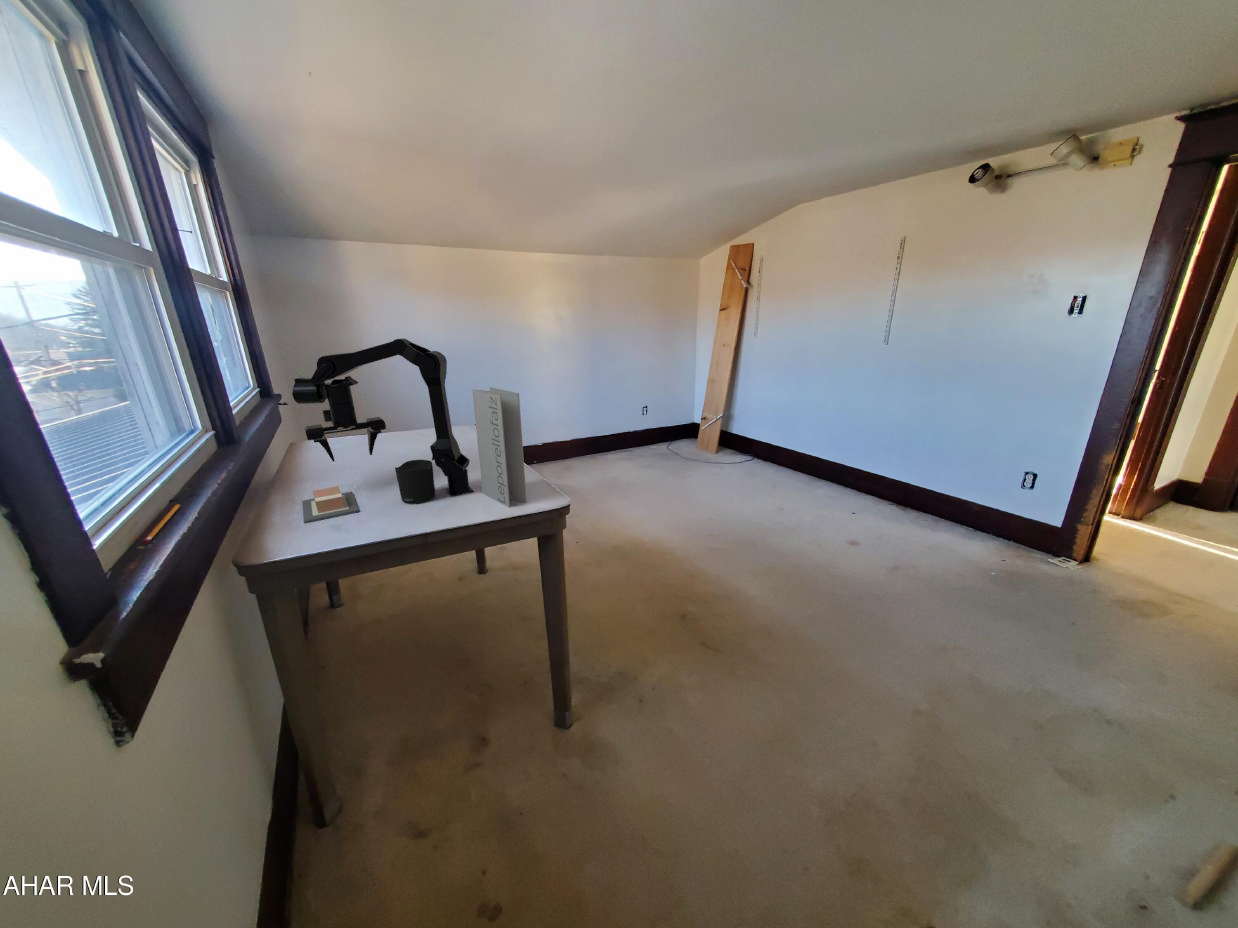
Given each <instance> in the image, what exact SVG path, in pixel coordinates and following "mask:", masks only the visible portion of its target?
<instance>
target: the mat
mask: <svg viewBox="0 0 1238 928" xmlns="http://www.w3.org/2000/svg"><path fill="white" fill-rule="evenodd" d="M341 494H342V497H343V501H344V506H345V508H342V509H337V510H332V511H328V512H323V513H318V511H317V507H316V503H315V499H314V498H309V499H303V500H301V501H302V516H303V517H302V518H303V523H304V524H308V523H314V522H317V521H322V520H323V521H324V520H329V519H333V518H337V517H342V516H347V515H351V514H356V513H360V511H359V507H358V505H357V502H356V499H355V497H354V496H355V495H354V493H353V492H352V491H347V492H341Z"/></svg>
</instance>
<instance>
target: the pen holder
mask: <svg viewBox="0 0 1238 928" xmlns="http://www.w3.org/2000/svg"><path fill="white" fill-rule="evenodd" d="M394 469H395V475H396V479H397V485H398V488H399V493H400V499H401V502H403V503H405V504H407V505H408V504H409V505H419V504H424V503H427V502H430V501H432V500H433V499H434V498H435V496H436V494H435V493H436V492H435V491H436V489H435V476H434V467H433V462H432V460H429V459H411V460H408V461H406V462H404V463H402V464H401V465H400V466H398V467H394Z"/></svg>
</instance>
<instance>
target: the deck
mask: <svg viewBox="0 0 1238 928" xmlns="http://www.w3.org/2000/svg"><path fill="white" fill-rule="evenodd" d="M341 493H342V492H341V489H340V487H339V485H338V486H337V485H336V486H331V487H326V488H321V489H316V490H312V494H313V499H315V503H316V507H317V511H318V513H323V512H328V511H332V510H337V509H342V508H345V506H344V501H343V497H342V494H341Z"/></svg>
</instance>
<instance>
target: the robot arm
mask: <svg viewBox="0 0 1238 928" xmlns="http://www.w3.org/2000/svg"><path fill="white" fill-rule="evenodd" d="M396 356H400V357H402V358H403V359H405V360H406V361H408V362H409V363H411V364H412V365H415V366H416V367H418V371H419V373H420V375H421V378H422V379H423V381H424V383H425V385H426V386H427V391H428V396H429V401H430V408H431V414H432V419H433V425H434V430H435V431H434V432H435V436H436V437H435V438H436V439H435V441H434V442H433V443H431V445H430V446H429V449H430V452H431V454H432V457H431V461H434V463H435V465H436V467H438V468H439V469H440V470H441V472H442V473H443V475H444V477H446V479H447V487H445V489H444V491H445V492H446V493H447V494H448V495H449V496H450V497H455V496H459V495H464V494H470V493H473V492H474V489H473V488H472V487H471V486H470V483H469V473H468V469H467V468H468V467H469V464H470V461H471V460H470V459H469V458H468V457H467V456H465V455H464V454H463V453H462V451H461V449H460V446H459V442H458V441H457V439H456V438H455V436H454V434H453V429H452V428H453V427H452V422H451V415H450V409H449V404H448V403H449V402H448V397H447V390H446V378H447V373H448V372H447V370H448V369H447V368H448V363H447V362H448V361H447V357H446V356H445V355H444V354H443V353H441V351H438V350H430V349H428V348H426V347H424V346H421V345H419V344H416V343H413V342H412V341H410V340H408V339H407V338H396V339H393V341H389V342H386V343H383V344H379V345H374V346H371V347H367V348H365V349H361V350H357V351H354V352H343V353H334V354H327V355H322V356H320V357H319V358H318V359H317V362H316V369H315V371H314V373H313V375H312V376H311V377H309V378H308V377H297V378H294V384H293V387H292V392H291V395H292V397H293V400H294V401H295V402H296V404H299V405H302V404H303V405H308V404H311V405H312V404H323V403H325V402H326V400H327V402H328V407H329V409H324V410H322V414H323V419H324V422H325V423H331V424H332V425H331V426H324V427H323V425H322V424H320V423H319V424H313V425H306V426H305V427H304V432H305V436H306V439H307V441H313V442H314V443H319V444H320V445H321V446H322V448H323V449H324V450H325V452H326V453H327V454H328V456H329V458H330V459H331V461H332V462H335V456H334V454H333V452H332V449H331V446H330V443H329V441H328V439H327V436H326V435H328V434H329V435H330V434H338V433H343V432H351V431H358V430H365V429H366V432H367V443H368V444H367V445H368V446H367V447H368V452H369V455H370V456H372V455H373V452H374V448H375V443H376V440H377V437H378V436H379V434H382V433H383V432H382V431H383V430H387V427H386V426H387V425H386V421H385V420H384V419H383V418H381V417H380V416H375V417H367V418H365V419H366V421H362V422H358V419H357V414H356V409H355V404H354V403H355V402H354V399H353V393H352V390H351V388H352V387H351V386H355V385H358V384H359V381H357V380H356V379H354V378H353V377H352V376H351V375H347V374H349V373H351V372H354V371H355V370H357V369H358V368H360V367H362V366H364V365H368V364H372V363H375V362H378V361H382V360H385V359H389V358H392V357H396ZM345 375H347V376H345ZM342 376H345V377H344V378H339V377H342ZM328 381H331V382H328Z"/></svg>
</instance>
